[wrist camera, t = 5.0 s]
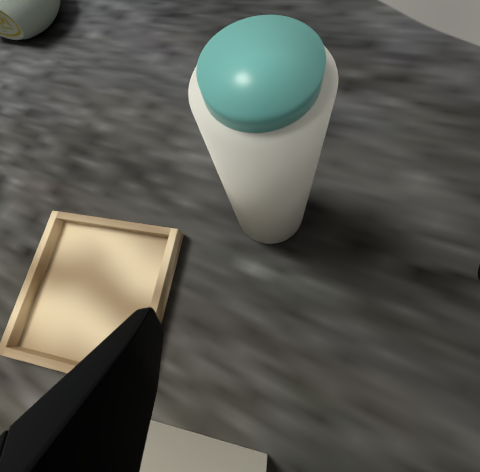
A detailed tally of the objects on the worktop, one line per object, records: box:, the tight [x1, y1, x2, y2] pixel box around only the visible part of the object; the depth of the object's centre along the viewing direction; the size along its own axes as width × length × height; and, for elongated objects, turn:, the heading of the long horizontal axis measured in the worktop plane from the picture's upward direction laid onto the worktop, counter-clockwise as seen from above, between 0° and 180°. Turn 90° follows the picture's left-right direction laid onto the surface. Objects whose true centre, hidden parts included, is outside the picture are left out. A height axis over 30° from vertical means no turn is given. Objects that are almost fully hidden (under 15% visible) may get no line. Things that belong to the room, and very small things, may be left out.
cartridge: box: [188, 15, 338, 244], centre depth 16 cm, size 6×6×14 cm
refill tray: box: [0, 211, 184, 373], centre depth 22 cm, size 12×12×2 cm
